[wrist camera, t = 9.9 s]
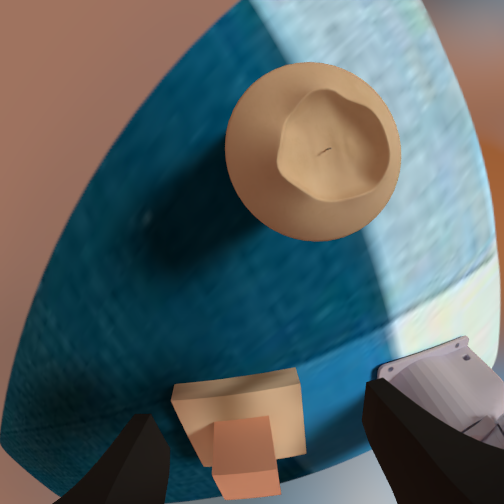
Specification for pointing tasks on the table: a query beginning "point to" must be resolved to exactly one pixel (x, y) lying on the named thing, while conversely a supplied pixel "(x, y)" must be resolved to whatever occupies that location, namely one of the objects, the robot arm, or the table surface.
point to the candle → (313, 151)
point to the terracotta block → (245, 459)
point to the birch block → (243, 409)
